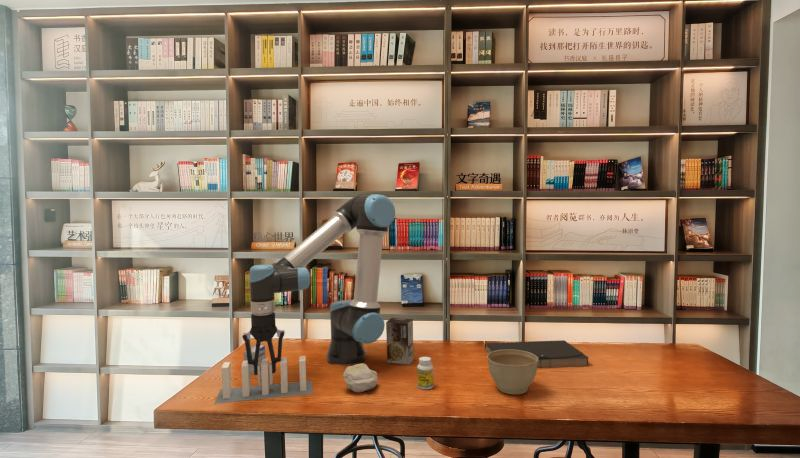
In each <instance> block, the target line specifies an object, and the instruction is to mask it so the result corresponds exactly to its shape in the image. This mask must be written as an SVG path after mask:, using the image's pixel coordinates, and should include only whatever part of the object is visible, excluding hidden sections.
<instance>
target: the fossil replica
mask: <svg viewBox="0 0 800 458" xmlns="http://www.w3.org/2000/svg"><path fill="white" fill-rule="evenodd" d="M342 375H343V380H344V382H345V384H346V386H347V388H348V389H349V390H351V391H352V392H355V393H363V392H365V391H370V390H373V389H375V387H376V385H378V382H379V381H378V373H377V371H375V370H372V369H370V368H369V366H368V365H367V364H366V363H362V362H360V363H355V364H352V365H348V366H347V367H346V368H345V370H344V372H343V373H342Z"/></svg>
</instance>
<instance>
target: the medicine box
mask: <svg viewBox="0 0 800 458" xmlns="http://www.w3.org/2000/svg"><path fill="white" fill-rule="evenodd" d="M255 349H256V344H255V345H253V346H251V353H252V359H253V360H254V357H255ZM243 356H244V357H243V358H244V359H243V361H247V353H246V350H245V351H243ZM262 359H267V358H266V346H265V345H262V344H260V351H259V359H258V363H262ZM250 375H255V374H254V366H253V365H252V364H250Z"/></svg>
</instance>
